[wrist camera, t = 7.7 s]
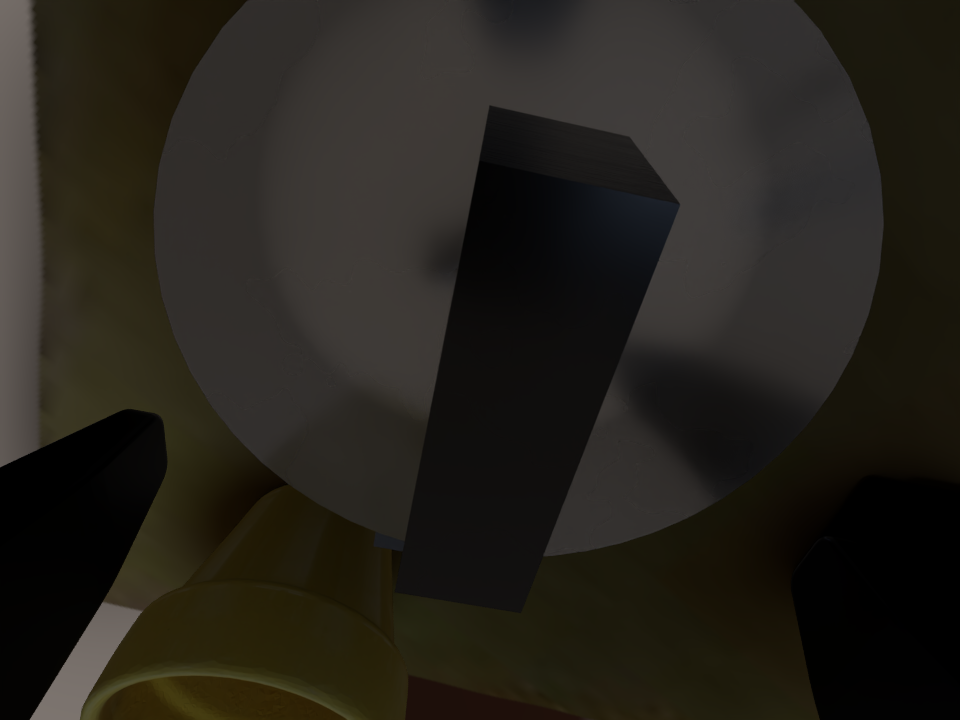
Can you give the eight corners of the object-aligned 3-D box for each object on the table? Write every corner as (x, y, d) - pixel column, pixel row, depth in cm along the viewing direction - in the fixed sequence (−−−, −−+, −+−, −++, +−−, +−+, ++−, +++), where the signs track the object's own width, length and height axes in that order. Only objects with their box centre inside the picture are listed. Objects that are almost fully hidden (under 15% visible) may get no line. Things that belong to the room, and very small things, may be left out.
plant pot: (202, 425, 25) (46, 649, 16) (449, 472, 25) (418, 708, 17) (210, 581, 30) (96, 808, 22) (412, 616, 31) (376, 848, 23)
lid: (689, 559, 17) (744, 735, 13) (200, 473, 16) (98, 635, 12) (1017, 10, 10) (1372, 30, 6) (151, -208, 9) (-152, -366, 5)
